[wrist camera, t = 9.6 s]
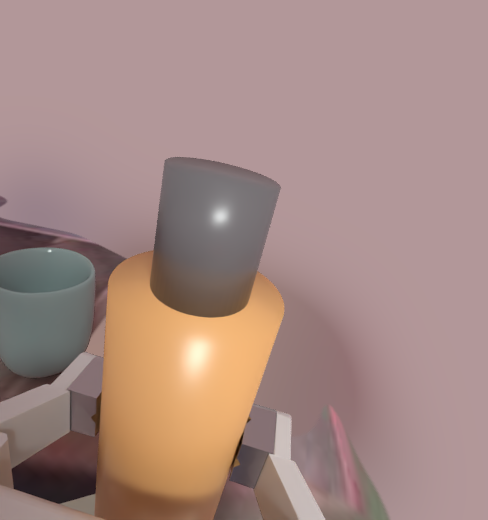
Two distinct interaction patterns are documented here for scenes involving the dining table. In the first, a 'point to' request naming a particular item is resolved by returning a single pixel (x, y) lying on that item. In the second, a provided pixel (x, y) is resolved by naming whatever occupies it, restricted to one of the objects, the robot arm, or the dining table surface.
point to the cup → (45, 309)
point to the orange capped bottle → (186, 345)
